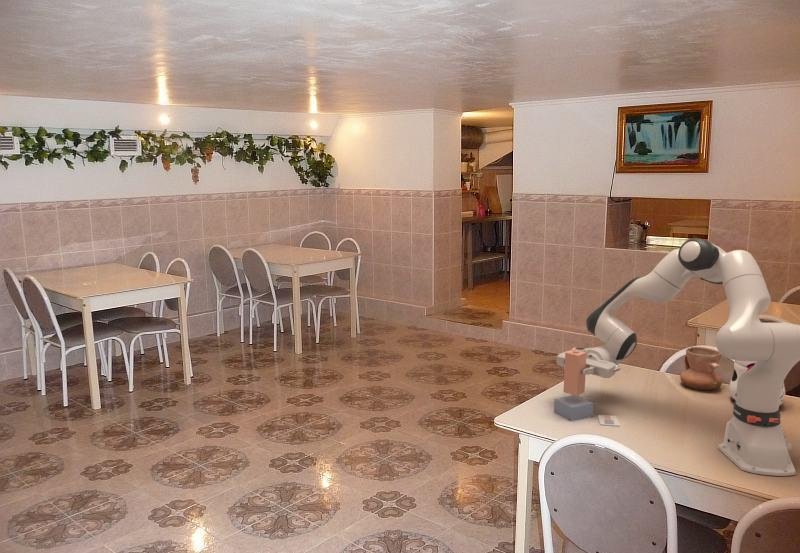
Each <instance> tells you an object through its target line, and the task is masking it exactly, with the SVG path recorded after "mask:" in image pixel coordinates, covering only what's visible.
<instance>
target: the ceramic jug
mask: <svg viewBox="0 0 800 553" xmlns="http://www.w3.org/2000/svg"><path fill="white" fill-rule="evenodd" d="M721 357H722V355H721V354H720V352H719V351H718V349H717V350H716V349H713V348H708V347H704V346H689V347H688V346H687V347H686V348H685V356H684V358H683V364H684V369H685V370H684V371H682V372H681V374H680V381H681V383H683V384H684V385H685V386H687V387H689V388H692V389H695V390H700V391H711V390H716V389H718V388H719V387H721V386H722V384H723V378H722V376H721V375H720V374H718V373H717V372H716V371H715V369H717V368H720V364H719V362H720V360H721Z"/></svg>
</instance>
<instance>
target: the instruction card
mask: <svg viewBox="0 0 800 553" xmlns="http://www.w3.org/2000/svg"><path fill="white" fill-rule="evenodd" d="M597 418H598V422H599V425H600V426H608V427H609V426H610V427H620V426H621V425H620V423H619V422H620V421H619V419H618V416H617V415H607V414H606V415H605V414H597Z"/></svg>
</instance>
